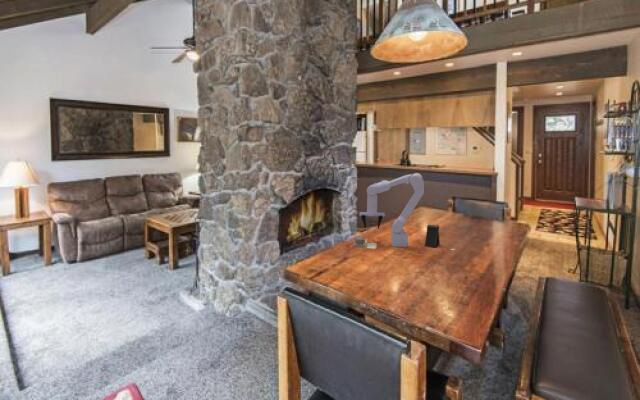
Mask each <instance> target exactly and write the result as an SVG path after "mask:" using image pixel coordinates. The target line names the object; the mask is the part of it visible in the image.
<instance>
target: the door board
mask: <svg viewBox="0 0 640 400" xmlns="http://www.w3.org/2000/svg"><path fill="white" fill-rule="evenodd" d="M377 244H378V242H377V243H376V242H369V238H368V237H365V238H364V239H363V245H356V239H354V241H353V244H352V247H353V249H354V248H355V249H375V250H376V249H377V246H378V245H377Z"/></svg>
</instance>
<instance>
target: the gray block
mask: <svg viewBox="0 0 640 400" xmlns="http://www.w3.org/2000/svg"><path fill="white" fill-rule="evenodd" d="M355 240H356V245H363V240H364V237H361V236H357V237H356V238H355Z"/></svg>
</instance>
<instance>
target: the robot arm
mask: <svg viewBox="0 0 640 400" xmlns="http://www.w3.org/2000/svg"><path fill="white" fill-rule="evenodd" d="M424 181H425V180H424V178H423V176H422V174H421V173H418V172H415V173H411V174H405V175H402V176H400V177H397V178H395V179H391V180H390V181H389V180H385V179H382V180H381V181H380V182H377V183H376V182H374V183H373V184H370V185H369V186H368V187H367V188H366V194H367V199H366V200H367V201H366V208H367V209H366V211H365V212H364V211H363V212H362V211H360V212H359V215H358V216H359V217H360V218H361V220H362V223H363V226H364V227H363V228H364V229H367V222H366V221H367V217H377V221H378V222H377V229H378V230H379V229H380V226H381V223H382V220H383V218H384V217H385V215H386V214H385V212H378V194H380V193H385V192H386V191H389V190H391V187H394V186H398V185H402V184H407V185H411V187H412V188H413V189H412V190H413V191H414V193H413V194H412V196H411V197H410V199H409V201H408V202H407V203H406V205H405V207H404V209H403V210H402V212H401V213H400V214H399V216H397V218H396V219H395V220H394V221H393V223H392V224H391V244H390V245H391V247H395V248H408V246H409V233H408V231H405V230H404V227H405V223H406V222H407V221H408V218H409V217H410V215H411V213H413V212H414V210H415V208H416V206H417V205H418V203H419V202H420V200H421V198H422V197H423V195H424V193H425V188H424V187H425V185H424V184H425V183H424Z"/></svg>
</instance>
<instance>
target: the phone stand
mask: <svg viewBox="0 0 640 400" xmlns="http://www.w3.org/2000/svg"><path fill="white" fill-rule="evenodd" d="M440 240H441V239H440V226H439V225H435V224H427V226H426V236H425V239H424V241H425V242H424V247H427V248H433V249H436V248H437V247H438V246H440V243H441V241H440Z"/></svg>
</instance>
